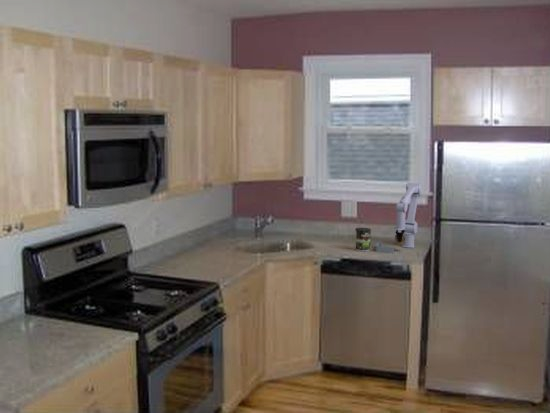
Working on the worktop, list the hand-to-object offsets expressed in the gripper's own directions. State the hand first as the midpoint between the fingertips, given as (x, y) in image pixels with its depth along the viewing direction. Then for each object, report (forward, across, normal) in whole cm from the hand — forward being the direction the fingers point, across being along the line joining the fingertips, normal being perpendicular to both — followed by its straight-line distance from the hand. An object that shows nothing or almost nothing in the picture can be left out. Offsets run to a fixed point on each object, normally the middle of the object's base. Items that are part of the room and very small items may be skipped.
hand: (399, 241), depth 413 cm
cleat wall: (+6, -1, -10) cm, 12 cm away
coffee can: (+7, +5, -24) cm, 26 cm away
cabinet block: (+2, 0, 0) cm, 2 cm away
